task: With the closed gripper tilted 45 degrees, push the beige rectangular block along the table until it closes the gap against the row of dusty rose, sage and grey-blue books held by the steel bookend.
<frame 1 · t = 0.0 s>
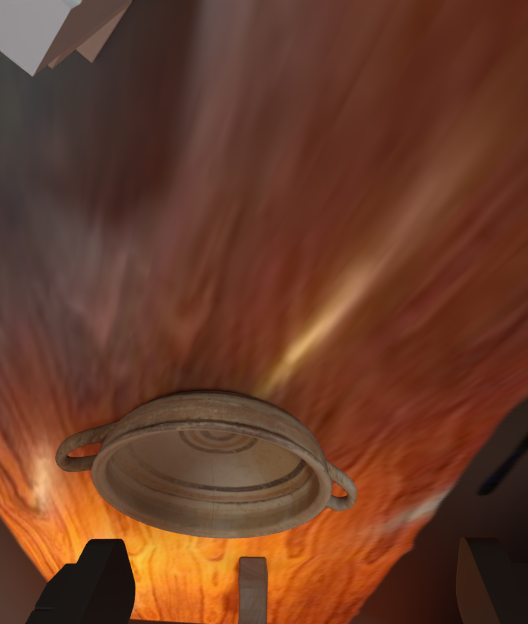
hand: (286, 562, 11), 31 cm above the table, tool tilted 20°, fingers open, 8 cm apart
decorative block: (254, 564, 101), on the table
ceramic bowl: (219, 419, 63), on the table
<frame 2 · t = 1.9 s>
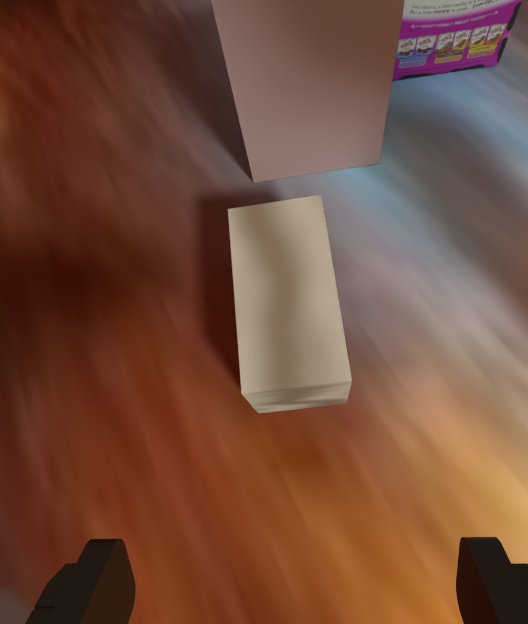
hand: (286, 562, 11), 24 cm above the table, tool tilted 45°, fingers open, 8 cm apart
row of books: (309, 132, 46), on the table
candy bar box: (435, 59, 48), on the table
beige rectangular block: (292, 325, 39), on the table
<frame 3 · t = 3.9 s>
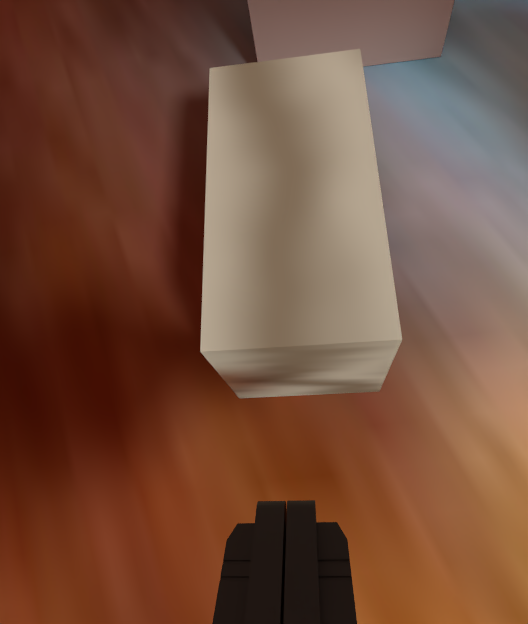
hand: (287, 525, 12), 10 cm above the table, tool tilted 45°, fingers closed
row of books: (342, 18, 33), on the table
beige rectangular block: (301, 272, 26), on the table
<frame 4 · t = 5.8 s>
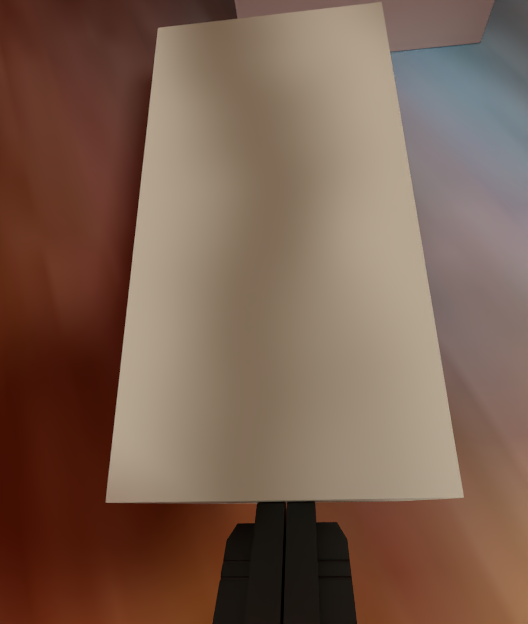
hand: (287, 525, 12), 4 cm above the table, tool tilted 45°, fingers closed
beige rectangular block: (289, 318, 19), on the table, touching gripper
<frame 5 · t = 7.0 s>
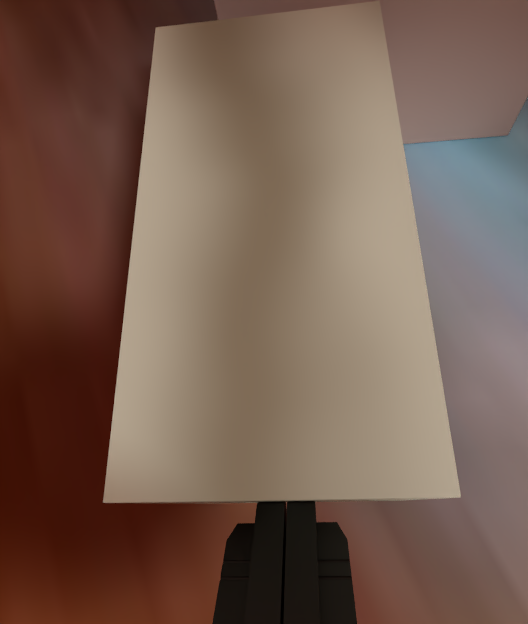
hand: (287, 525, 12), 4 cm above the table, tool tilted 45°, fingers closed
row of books: (364, 69, 24), on the table
beige rectangular block: (289, 318, 19), on the table, touching gripper
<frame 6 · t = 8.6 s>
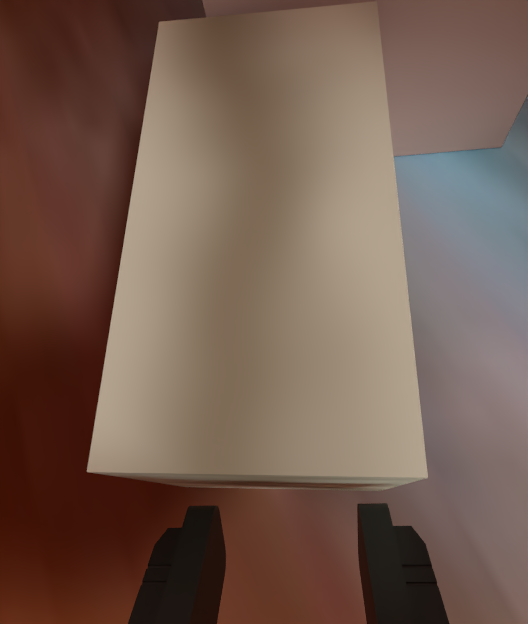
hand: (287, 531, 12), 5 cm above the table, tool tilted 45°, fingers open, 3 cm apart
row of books: (358, 81, 24), on the table
beige rectangular block: (282, 310, 19), on the table
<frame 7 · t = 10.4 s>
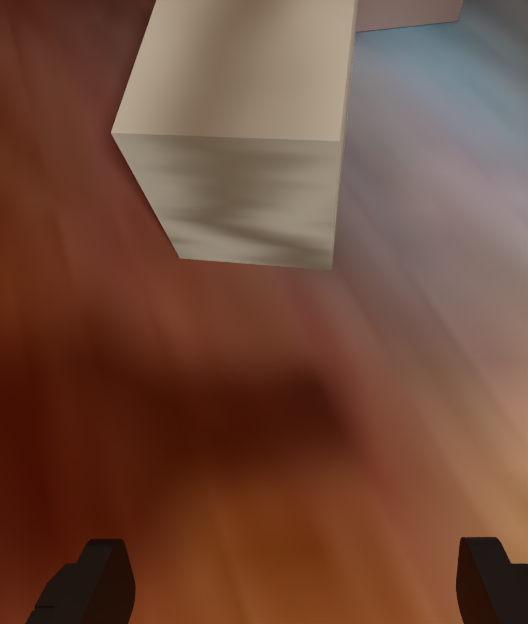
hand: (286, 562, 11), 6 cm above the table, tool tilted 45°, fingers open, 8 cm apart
beige rectangular block: (275, 144, 24), on the table
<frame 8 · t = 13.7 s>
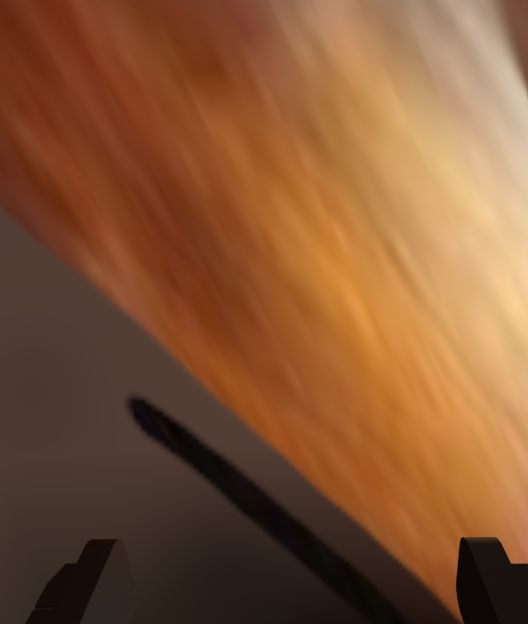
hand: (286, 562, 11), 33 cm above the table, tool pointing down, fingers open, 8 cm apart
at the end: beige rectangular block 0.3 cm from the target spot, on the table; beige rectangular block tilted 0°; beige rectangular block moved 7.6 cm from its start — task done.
